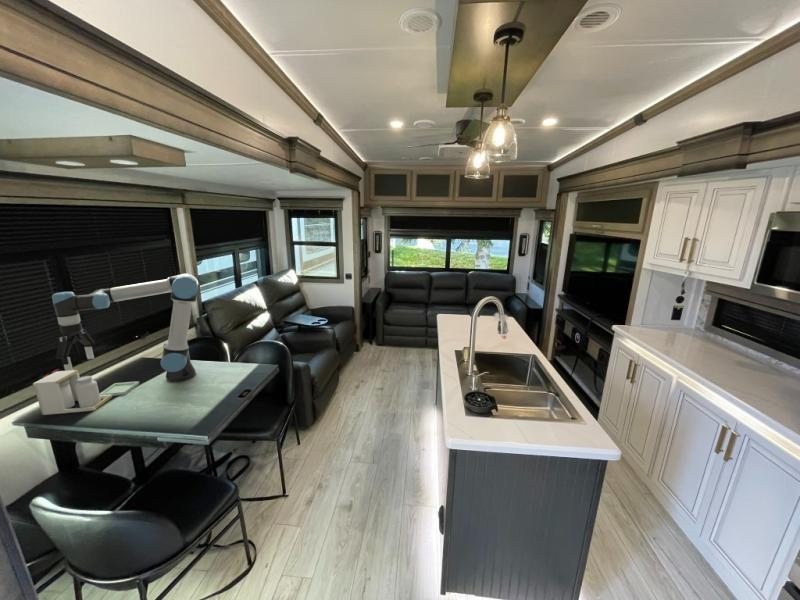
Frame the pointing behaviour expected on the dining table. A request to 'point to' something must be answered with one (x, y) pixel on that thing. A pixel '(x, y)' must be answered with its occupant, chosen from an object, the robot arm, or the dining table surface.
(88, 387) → the pill bottle
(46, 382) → the dispenser
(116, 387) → the tray
